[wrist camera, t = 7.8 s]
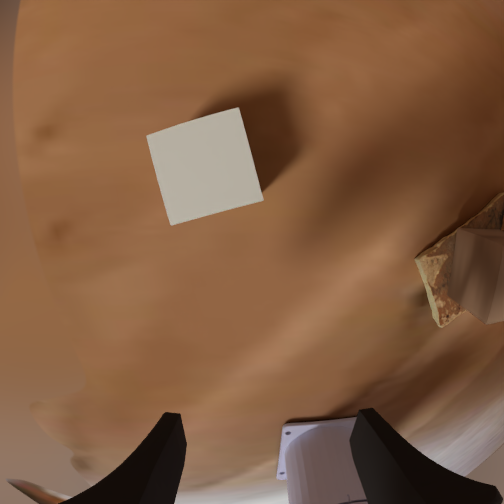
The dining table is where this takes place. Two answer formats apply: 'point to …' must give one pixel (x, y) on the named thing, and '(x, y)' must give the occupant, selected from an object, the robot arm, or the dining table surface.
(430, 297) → the shard
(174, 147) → the white cube
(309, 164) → the dining table surface
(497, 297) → the walnut block
